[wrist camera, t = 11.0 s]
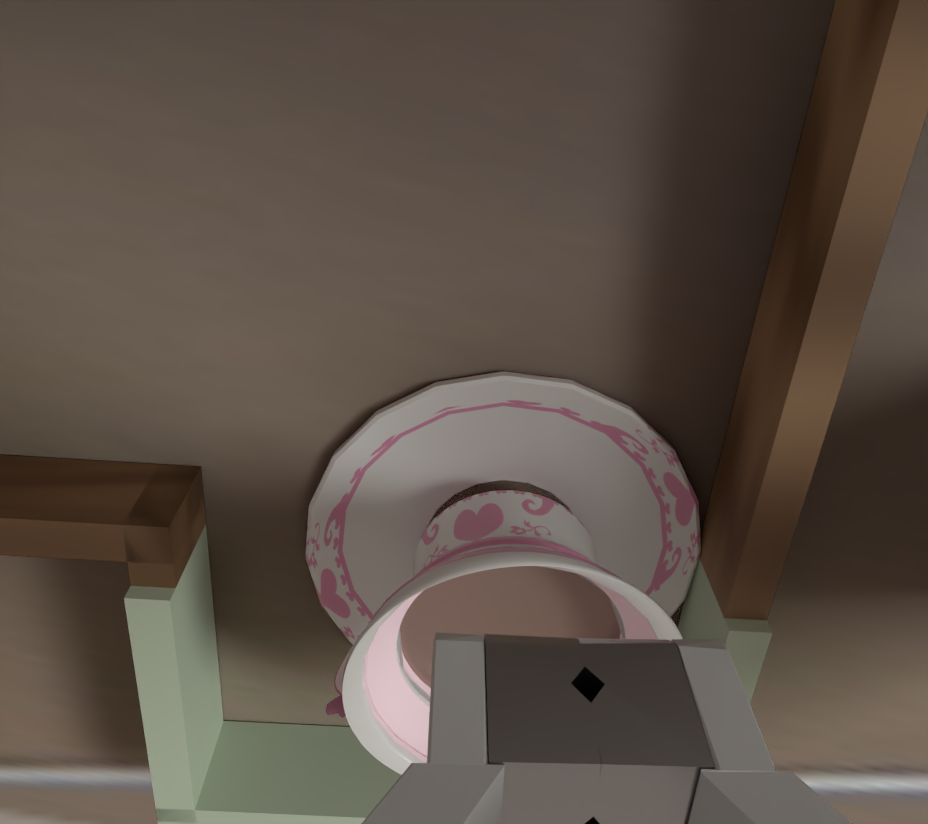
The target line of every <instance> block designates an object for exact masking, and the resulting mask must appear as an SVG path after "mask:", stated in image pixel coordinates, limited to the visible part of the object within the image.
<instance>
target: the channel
mask: <svg viewBox="0 0 928 824" xmlns="http://www.w3.org/2000/svg"><path fill="white" fill-rule="evenodd" d="M927 112H928V0H835V4H834V8H833V12H832V16H831V20H830V24H829V28H828V32H827V36H826V40H825V44H824V48H823V52H822V56H821V60H820V64H819V68H818V72H817V76H816V80H815V84H814V88H813V92H812V96H811V100H810V104H809V108H808V112H807V116H806V119H805V123H804V127H803V131H802V135H801V139H800V143H799V147H798V151H797V155H796V159H795V163H794V167H793V171H792V175H791V179H790V183H789V187H788V191H787V195H786V199H785V203H784V207H783V211H782V215H781V219H780V223H779V227H778V231H777V235H776V238H775V242H774V246H773V250H772V254H771V258H770V262H769V266H768V270H767V274H766V278H765V282H764V286H763V290H762V294H761V298H760V302H759V306H758V310H757V314H756V318H755V322H754V326H753V330H752V334H751V338H750V342H749V346H748V350H747V354H746V357H745V361H744V365H743V369H742V373H741V377H740V381H739V385H738V389H737V393H736V397H735V401H734V405H733V409H732V413H731V417H730V421H729V425H728V429H727V433H726V437H725V441H724V445H723V449H722V453H721V457H720V461H719V465H718V469H717V473H716V477H715V480H714V484H713V488H712V492H711V496H710V500H709V504H708V508H707V512H706V516H705V520H704V524H703V528H702V532H701V536H700V540H701V553H700V556H699V558H700V561H701V563H702V566H703V568H704V571H705V573H706V575H707V578H708V580H709V583H710V585H711V588H712V590H713V592H714V595H715V597H716V600H717V602H718V605H719V607H720V610H721V612H722V614H723V617H724V618H732V619H750V620H767V618H768V615H769V612H770V609H771V605H772V602H773V599H774V596H775V593H776V590H777V586H778V583H779V580H780V577H781V574H782V571H783V567H784V564H785V561H786V558H787V555H788V552H789V548H790V545H791V542H792V539H793V536H794V533H795V529H796V526H797V523H798V520H799V517H800V514H801V510H802V507H803V504H804V501H805V498H806V495H807V491H808V488H809V485H810V482H811V479H812V476H813V473H814V469H815V466H816V463H817V460H818V457H819V454H820V450H821V447H822V444H823V441H824V438H825V435H826V431H827V428H828V425H829V422H830V419H831V416H832V412H833V409H834V406H835V403H836V400H837V397H838V393H839V390H840V387H841V384H842V381H843V378H844V374H845V371H846V368H847V365H848V362H849V359H850V355H851V352H852V349H853V346H854V343H855V340H856V336H857V333H858V330H859V327H860V324H861V321H862V318H863V314H864V311H865V308H866V305H867V302H868V299H869V295H870V292H871V289H872V286H873V283H874V280H875V276H876V273H877V270H878V267H879V264H880V261H881V257H882V254H883V251H884V248H885V245H886V242H887V238H888V235H889V232H890V229H891V226H892V223H893V219H894V216H895V213H896V210H897V207H898V204H899V200H900V197H901V194H902V191H903V188H904V185H905V181H906V178H907V175H908V172H909V169H910V166H911V163H912V159H913V156H914V153H915V150H916V147H917V144H918V140H919V137H920V134H921V131H922V128H923V125H924V121H925V118H926V115H927ZM205 524H206V517H205V506H204V495H203V483H202V472H201V467H196V466H179V465H162V464H146V463H129V462H112V461H95V460H79V459H62V458H45V457H28V456H12V455H0V555H8V556H26V557H44V558H62V559H80V560H98V561H116V562H127V565H128V571H129V578H130V585H131V586H143V587H161V588H176V586H177V584H178V582H179V580H180V578H181V576H182V574H183V571H184V569H185V567H186V565H187V563H188V561H189V559H190V556H191V554H192V552H193V550H194V548H195V546H196V544H197V542H198V539H199V537H200V535H201V533H202V531H203V529H204V527H205Z"/></svg>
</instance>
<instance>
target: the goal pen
mask: <svg viewBox="0 0 928 824" xmlns="http://www.w3.org/2000/svg"><path fill="white" fill-rule="evenodd" d="M124 602H125V609H126V615H127V622H128V628H129V635H130V642H131V648H132V655H133V661H134V668H135V674H136V681H137V688H138V694H139V701H140V707H141V714H142V721H143V727H144V734H145V740H146V747H147V753H148V760H149V767H150V773H151V780H152V786H153V793H154V800H155V806H156V813H157V819H158V824H362V822H363V821H364V820H365V819H366V818H367V816H368V815H369V814H370V813H371V812H372V810H373V809H374V808H375V807H376V805H377V804H378V803H379V802H380V801H381V799H382V798H383V797H384V796H385V795H386V793H387V792H388V791H389V790H390V789H391V787H392V786H393V785H394V784H395V783H396V781H397V780H398V779H399V778H400V776H401V775H400V774H399V773H397V772H395V771H393V770H392V769H390V768H388V767H387V766H385V765H384V764H383V763H381V762H380V761H379V760H377V759H376V758H375V757H374V756H373V755H371V754H370V753H369V752H368V751H367V750H366V749H365V748H364V746H363V745H362V744H361V743H360V741H359V740H358V738H357V737H356V736H355V734H354V733H353V731H352V730H351V728H350V727H340V726H319V725H299V724H278V723H257V722H237V721H223V711H222V699H221V688H220V676H219V665H218V654H217V642H216V631H215V620H214V608H213V597H212V586H211V574H210V563H209V552H208V540H207V529H206V524H205V527H204V529H203V531H202V533H201V535H200V537H199V539H198V542H197V544H196V546H195V548H194V550H193V552H192V554H191V556H190V559H189V561H188V563H187V565H186V567H185V569H184V571H183V574H182V576H181V578H180V580H179V582H178V584H177V586H176V588H161V587H143V586H130V588H129V590H128V592H127V593H126V595H125V597H124ZM677 628H678V629H679V631H680V633H681V635H682V638H683V639H699V640H721V641H722V642H723V643H724V644H725V645H726V646H727V648H728V650H729V653H730V655H731V658H732V661H733V663H734V666H735V668H736V671H737V673H738V676H739V678H740V681H741V683H742V686H743V688H744V691H745V693H746V696H747V698H748V701H749V703H750V702H751V699H752V696H753V693H754V690H755V686H756V683H757V680H758V677H759V674H760V671H761V668H762V665H763V662H764V659H765V656H766V652H767V649H768V646H769V643H770V640H771V637H772V634H773V633H772V630H771V628H770V626H769V624H768V622H767V620H750V619H732V618H724V617H723V614H722V612H721V610H720V607H719V605H718V602H717V600H716V597H715V595H714V592H713V590H712V588H711V585H710V583H709V580H708V578H707V575H706V573H705V571H704V568H703V566H702V563H701V561H700V558H699V559H698V562H697V565H696V568H695V571H694V574H693V577H692V580H691V583H690V586H689V589H688V592H687V595H686V598H685V600H684V603H683V607H682V611H681V615H680V619H679V623H678V627H677Z"/></svg>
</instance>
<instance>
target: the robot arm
mask: <svg viewBox="0 0 928 824" xmlns="http://www.w3.org/2000/svg"><path fill="white" fill-rule="evenodd" d="M362 824H852V823H851V822H850V821H848V820H847V819H846V818H845V817H844V816H843V815H841V814H840V813H839V812H838V811H837V810H836V809H834V808H833V807H832V806H831V805H830V804H829V803H827V802H826V801H825V800H824V799H823V798H822V797H820V796H819V795H818V794H817V793H816V792H815V791H813V790H812V789H811V788H810V787H809V786H808V785H807V784H805V783H804V782H803V781H802V780H801V779H800V778H798V777H797V776H796V775H795V774H794V773H793V772H782V771H776V769H775V767H774V764H773V762H772V759H771V756H770V754H769V751H768V749H767V746H766V744H765V741H764V739H763V736H762V734H761V731H760V729H759V726H758V724H757V721H756V719H755V716H754V714H753V711H752V708H751V706H750V703H749V701H748V698H747V696H746V693H745V691H744V688H743V686H742V683H741V681H740V678H739V676H738V673H737V671H736V668H735V666H734V663H733V661H732V658H731V655H730V653H729V650H728V648H727V646H726V645H725V644H724V643H723V642H722V641H721V640H699V639H672V640H671V641H670V640H658V639H599V638H557V637H537V636H517V635H497V634H484V639H483V635H474V634H456V633H437V632H436V633H435V637H434V642H433V654H432V674H431V693H430V712H429V732H428V751H427V763H411V764H410V766H409V767H408V768H407V769H406V770H405V772H404V773H403V774H402V775H401V776H400V778H399V779H398V780H397V781H396V783H395V784H394V785H393V786H392V787H391V789H390V790H389V791H388V792H387V793H386V795H385V796H384V797H383V798H382V799H381V801H380V802H379V803H378V804H377V805H376V807H375V808H374V809H373V810H372V812H371V813H370V814H369V815H368V816H367V818H366V819H365V820H364V821H363V822H362Z"/></svg>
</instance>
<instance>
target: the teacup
mask: <svg viewBox="0 0 928 824" xmlns="http://www.w3.org/2000/svg"><path fill="white" fill-rule="evenodd" d="M502 480H504V481H513V482H521V483H528V484H531V485H533V486H536V487H538V488H540V489H543V490H545V491H548V492H550V493H551V494H552V495H554V496H555V497H556V498H557V499H558V500H559V501H561V502H562V503H563V504H564V505H565V506H567V507H568V509H569V510H568V509H567V508H566V507H564V506H562V505H561V504H559V503H557V502H556V501H554V500H551V499H549V498H547V497H544V496H541V495H538V494H534V493H530V492H524V491H517V490H499V491H489V492H485V493H480V494H476V495H473V496H470V497H467V498H465V499H462V500H460V501H458V502H456V503H454V504H452V505H451V506H449V507H448V508H447V509H445V510H444V511H442V512H441V513H440V514H439V515H438V516H437V517H435V518H434V519H433V517H434V515H435V513H436V512H437V510H438V509H439V508H440V507H441V506H442V505H443V504H444V503H446V502H447V501H448V500H449V499H450V498H451V497H452V496H454V495H455V494H457V493H459V492H461V491H463V490H466V489H468V488H470V487H472V486H474V485H477V484H481V483H488V482H495V481H502ZM432 519H433V520H432ZM431 520H432V521H431ZM430 522H431V523H430ZM700 553H701V540H700V521H699V502H698V499H697V496H696V494H695V492H694V490H693V488H692V486H691V484H690V482H689V480H688V478H687V475H686V473H685V471H684V469H683V467H682V465H681V463H680V461H679V459H678V457H677V454H676V452H675V450H674V448H673V447H672V446H671V445H670V444H669V443H668V442H667V441H666V440H665V439H664V438H663V437H662V436H661V435H660V434H659V433H658V432H657V431H656V430H654V429H653V428H652V427H651V426H650V425H649V424H648V423H647V422H646V421H645V420H644V419H643V418H642V417H641V416H640V415H639V414H638V413H637V412H635V411H634V410H633V409H632V408H631V407H630V406H628V405H626V404H624V403H621V402H619V401H617V400H615V399H613V398H610V397H608V396H606V395H604V394H602V393H599V392H597V391H595V390H593V389H591V388H588V387H586V386H584V385H582V384H580V383H577V382H575V381H573V380H570V379H562V378H554V377H546V376H538V375H531V374H523V373H515V372H507V371H501V372H495V373H489V374H482V375H476V376H470V377H464V378H457V379H451V380H445V381H439V382H435V383H433V384H431V385H429V386H427V387H425V388H422V389H420V390H418V391H416V392H414V393H412V394H410V395H408V396H406V397H404V398H402V399H400V400H398V401H396V402H394V403H391V404H389V405H387V406H385V407H383V408H381V409H379V410H377V411H376V412H375V413H374V414H373V415H372V416H371V417H370V418H369V419H368V420H367V421H366V422H365V423H364V424H363V425H362V426H361V427H359V428H358V429H357V430H356V431H355V432H354V433H353V434H352V435H351V436H350V437H349V438H348V439H347V440H346V441H345V442H344V443H343V444H342V445H341V446H340V447H339V448H338V449H337V450H336V451H335V452H334V453H333V455H332V457H331V459H330V461H329V463H328V466H327V468H326V470H325V472H324V474H323V476H322V478H321V480H320V482H319V484H318V486H317V488H316V490H315V493H314V495H313V497H312V499H311V501H310V504H309V510H308V525H307V540H306V556H305V558H306V561H307V564H308V567H309V570H310V573H311V576H312V579H313V582H314V585H315V588H316V591H317V595H318V598H319V601H320V604H321V606H322V607H323V608H324V609H325V611H326V612H327V613H328V615H329V616H330V617H331V618H332V620H333V621H334V622H335V623H336V625H337V626H338V627H339V629H340V630H341V631H342V632H343V634H344V635H345V636H346V637H347V639H348V640H349V641H350V643H351V644H352V645H353V646H352V648H351V649H350V651H349V652H348V654H347V655H346V657H345V659H344V661H343V662H342V664H341V666H340V668H339V670H338V672H337V674H336V677H335V688H336V691H337V692H338V693H339V694H340V695H341V696H339V697H337V698H335V699H334V700H332V701H331V702H330V703H328V704H327V706H326V712H327V714H328V715H329V714H335V713H338V714H339V715H340V716H341V717H345V716H346V718H347V721H348V723H349V726H350V728H351V730H352V731H353V733H354V734H355V736H356V737H357V738H358V740H359V741H360V743H361V744H362V745H363V746H364V748H365V749H366V750H367V751H368V752H369V753H370V754H371V755H373V756H374V757H375V758H376V759H377V760H379V761H380V762H381V763H383V764H384V765H385V766H387V767H388V768H390V769H392V770H393V771H395V772H397V773H399V774H400V775H402V774H403V773H404V772H405V770H406V769H407V768H408V767H409V766H410V764H411V763H427V751H428V732H429V712H430V693H431V674H432V654H433V642H434V637H435V633H436V632H437V633H456V634H474V635H483V639H484V634H497V635H517V636H537V637H557V638H599V639H658V640H670V641H671V640H672V639H683V638H682V635H681V633H680V631H679V629H678V628H677V626H676V624H675V623H674V621H673V620H672V618H671V617H672V615H673V614H674V613H675V611H676V610H677V609H678V608H679V606H680V605H681V604H682V603H683V601H684V600H685V598H686V595H687V592H688V589H689V586H690V583H691V580H692V577H693V574H694V571H695V568H696V565H697V562H698V559H699V556H700Z"/></svg>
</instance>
